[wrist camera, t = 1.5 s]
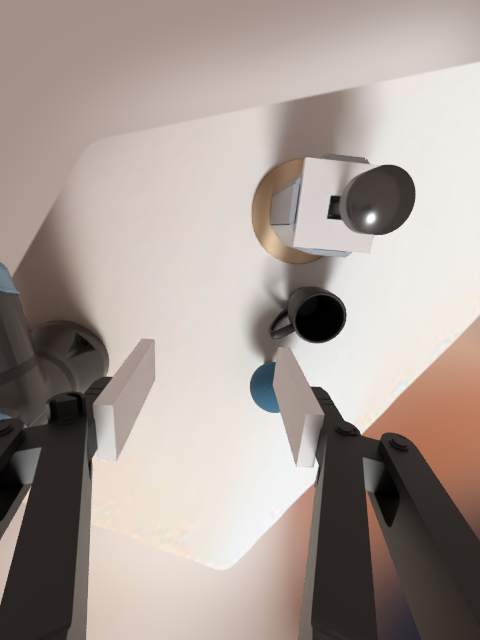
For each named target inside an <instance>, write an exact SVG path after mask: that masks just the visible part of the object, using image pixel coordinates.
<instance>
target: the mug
mask: <svg viewBox="0 0 480 640" xmlns="http://www.w3.org/2000/svg"><path fill="white" fill-rule="evenodd" d="M286 317H289V321H290V323H291V324H289V325H287V326H285V327H283V328H281V329H279V330H276V329H277V327H278V326H279V325H280V323H281V322H282V321H283V320H284V319H285V318H286ZM345 322H346V308H345V306H344V304H343V302H342V301H341V300H340V298H338V297H337V296H336V295H334V294H333V293H331V292H329V291H328V290H325V289H323V288H319V287H304V288H300V289H297V290H296V291H294V292H293V293H292V295H291V296H290V298H289V303H288V308H286V309H284V310H283V311H282V312H281V313H280V314H279V315H278V316H277V317H276V318H275V320H274V321H273V323H272V324H271V325H270V327H269V334H270V337H271V338H272V339H274V340H275V339H279V338H282V337H284V336H287V335H289V334H291V333H292V332H294V331H295V332H296V333H297V334H298V336H299V337H300V338H302V339H303V340H305V341H307V342H310V343H324V342H327V341H329V340H331V339H333V338H334V337H336V336H337V335H338V334H339V333H340V332H341V330H342V329H343V327H344V325H345Z"/></svg>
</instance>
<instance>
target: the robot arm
mask: <svg viewBox="0 0 480 640" xmlns="http://www.w3.org/2000/svg"><path fill="white" fill-rule="evenodd" d="M18 295H20V294H19V291H18V290H16V289H15V286H14V284H13V281H12V279H11V276H10V274H9V271H8V269H7V268H6V267H5V265H3V264H2V263H0V539H1V537H2V536H3V534H4V532H5V531H6V529H7V527H8V526H9V524H10V522H11V520H12V518H13V517H14V515H15V513H16V512H17V510H18V508H19V506H20V504H21V503H22V501H23V499H24V498H25V496H26V494H27V492H28V491H29V489H30V487H31V490H30V493H29V497H28V501H27V505H26V509H25V513H24V516H23V520H22V525H21V528H20V532H19V536H18V539H17V543H16V547H15V551H14V555H13V560H12V563H11V567H10V570H9V574H8V578H7V582H6V586H5V589H4V593H3V597H2V601H1V605H0V640H86V624H87V622H86V621H87V598H88V571H89V543H90V519H91V493H92V457H93V456H94V454H95V452H96V450H97V457H98V461H117V459H118V457H119V455H120V453H121V451H122V449H123V447H124V444H125V442H126V440H127V438H128V436H129V434H130V432H131V429H132V427H133V425H134V423H135V421H136V419H137V417H138V415H139V412H140V410H141V408H142V406H143V404H144V402H145V400H146V397H147V395H148V393H149V391H150V389H151V387H152V385H153V382H154V380H155V340H154V339H141V341H140V342H139V343H138V345H137V346H136V347H135V349H134V350H133V351H132V353H131V354H130V355H129V357H128V358H127V359H126V361H125V362H124V363H123V365H122V366H121V367H120V369H119V370H118V371H117V373H116V374H115V375H114V377H106V375H107V372H108V367H109V360H108V355H107V352H106V349H105V347H104V346H103V344H102V342H101V341H100V340H99V339H98V338H97V337H96V336H95V335H94V334H93V333H92V332H91V331H89V330H88V329H86V328H84V327H83V326H80V325H78V324H75V323H72V322H66V321H53V322H48V323H45V324H42V325H40V326H39V327H37V328H35V329H33V330H31V331H30V329H29V326H28V323H27V320H26V317H25V314H24V311H23V308H22V305H21V302H20V299H19V296H18ZM273 388H274V391H275V395H276V398H277V402H278V405H279V409H280V412H281V416H282V419H283V422H284V426H285V429H286V433H287V436H288V440H289V443H290V447H291V450H292V454H293V457H294V461H295V464H296V467H314V462H315V457H316V459H317V462H318V464H319V467H318V472H317V476H316V481H315V486H314V487H316V489H315V496H314V505H313V514H312V523H311V531H310V540H309V549H308V558H307V566H306V575H305V583H304V593H303V601H302V609H301V619H300V627H299V635H298V640H378V637H377V625H376V612H375V600H374V588H373V575H372V564H371V552H370V540H369V527H368V516H367V503H366V491H365V490H367V492H368V495H369V498H370V500H371V503H372V506H373V508H374V511H375V514H376V517H377V520H378V522H379V525H380V528H381V530H382V533H383V536H384V538H385V541H386V544H387V547H388V549H389V552H390V555H391V558H392V560H393V563H394V566H395V569H396V571H397V574H398V577H399V579H400V582H401V585H402V588H403V590H404V593H405V596H406V598H407V601H408V604H409V606H410V609H411V612H412V615H413V617H414V620H415V623H416V625H417V628H418V630H419V633H420V636H421V639H422V640H480V541H479V539H478V538H477V536H476V535H475V533H474V532H473V531H472V529H471V528H470V526H469V525H468V523H467V522H466V520H465V519H464V517H463V516H462V514H461V513H460V511H459V510H458V508H457V507H456V505H455V504H454V502H453V501H452V499H451V498H450V496H449V495H448V493H447V492H446V490H445V489H444V487H443V486H442V484H441V483H440V481H439V480H438V479H437V477H436V475H435V474H434V473H433V471H432V469H431V468H430V467H429V465H428V463H427V462H426V460H425V459H424V457H423V456H422V454H421V453H420V451H419V450H418V449H417V447H416V446H415V445H414V444H413V442H411V441H410V440H409V439H407V438H406V437H404V436H401V435H399V434H395V433H385V434H383V435H382V437H381V439H380V441H379V440H375V439H372V438H368V437H364V436H362V435H361V434H360V431H359V430H358V429H357V428H356V427H355V426H354V425H352V424H351V423H349V422H346V421H344V419H343V418H342V416H341V414H340V413H339V411H338V409H337V408H336V406H335V405H334V403H333V401H332V400H331V398H330V396H329V394H328V393H327V392H326V391H325V390H323V389H322V388H321V387H310V386H309V384H308V382H307V380H306V378H305V376H304V374H303V372H302V370H301V368H300V366H299V364H298V362H297V360H296V358H295V357H294V355H293V353H292V351H291V349H290V348H284V347H278V351H277V359H276V366H275V373H274V380H273ZM31 485H32V486H31Z"/></svg>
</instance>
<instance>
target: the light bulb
mask: <svg viewBox="0 0 480 640" xmlns="http://www.w3.org/2000/svg"><path fill="white" fill-rule="evenodd" d="M275 366H276V362H267V363H265V364H264V365H262V366H260V367H259V368H258V369H257V370H256V371H255V372H254V374H253V376H252V378H251V381H250V392H251V395H252V398H253V400H254V401H255V403H256V404H257V405H258V406H259V407H260V408H262V409H263V410H265V411H268V412H272V413H279V412H280V409H279V405H278V402H277V398H276V395H275V391H274V388H273V380H274V373H275Z"/></svg>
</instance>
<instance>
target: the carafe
mask: <svg viewBox="0 0 480 640" xmlns="http://www.w3.org/2000/svg"><path fill="white" fill-rule="evenodd" d="M378 166H382V165H373V164H369V162H368V160H367V159H366V160H365V158H361V157H352V156H343V155H334V154H327V155H324V156H323V157H322V158H320V159H318V158H309V157H306V158H305V159H304V163H303V170H302V172H301V173H300V174H298V175H297V176H295V177H294V178H293V179H292V180H290V181H289V182H288V183H287V184H286V185H285V186H284V187H282V188H281V189H280V190H279V191H278V192H277V193H276V194H275V195H274V196H273V197H272V205H271V209H270V222H269V224H271V225H270V227H271V228H272V229H273V231H274V232H275V234H276V235H277V237H278V238H279V239H280V240H281V241H282V242H283V244H284V245H286V246H288V247H291V248H294V249H297V250H300V251H303V252H306V253H309V254H314V255H325V256H337V257H345V256H346V257H347V256H348V255H350V254H351V253H352V252H359V253H370V251H371V246H372V242H373V237H374V235H370V234H359V233H355V232H353V231H351V230H350V229H349V228H348V227H347V226H346V225H345V224H344V222H343V221H342V220H334V219H327V215H328V209H329V203H330V197H331V196H338V197H341V195H342V192H343V190H344V188H345V187H346V185H347V184H348V183H349V182H350V181H351V180H352V179H353V178H354V177H355V176H357V175H359V174H361V173H363V172H366V171H368V170H371V169H373V168H376V167H378Z"/></svg>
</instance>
